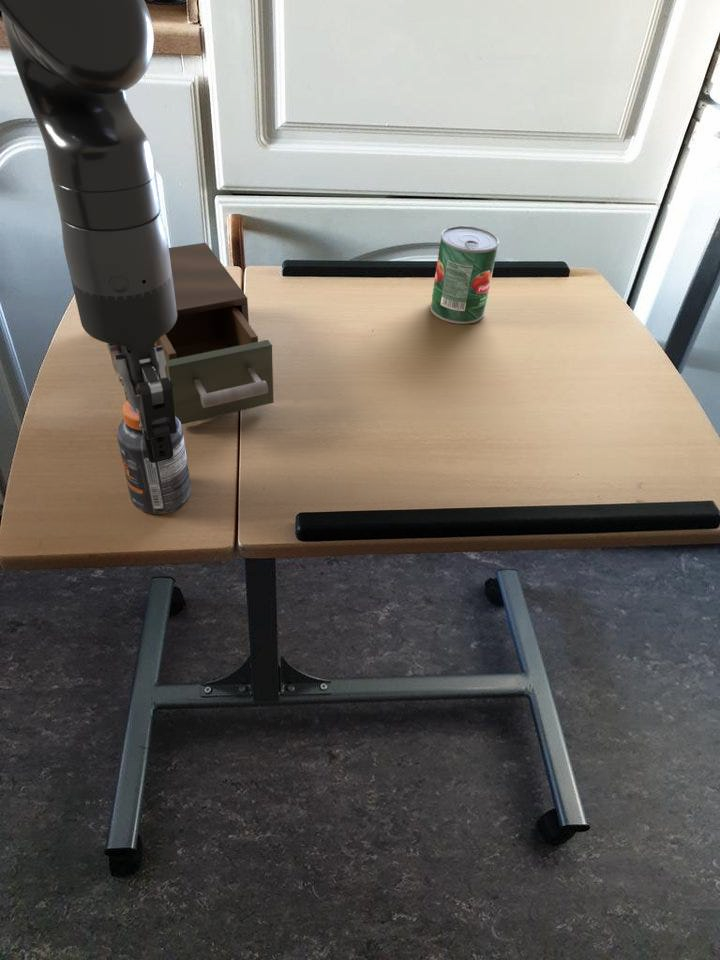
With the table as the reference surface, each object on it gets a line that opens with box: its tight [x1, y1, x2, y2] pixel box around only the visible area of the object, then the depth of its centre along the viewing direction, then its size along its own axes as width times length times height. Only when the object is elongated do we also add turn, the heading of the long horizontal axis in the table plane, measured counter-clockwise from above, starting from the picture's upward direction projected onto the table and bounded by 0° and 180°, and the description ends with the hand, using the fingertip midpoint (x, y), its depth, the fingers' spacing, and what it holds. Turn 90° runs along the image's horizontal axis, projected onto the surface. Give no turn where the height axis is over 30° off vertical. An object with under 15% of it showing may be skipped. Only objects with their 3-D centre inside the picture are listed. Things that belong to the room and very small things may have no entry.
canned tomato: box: [429, 225, 500, 325], centre depth 99 cm, size 8×8×11 cm
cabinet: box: [169, 242, 250, 325], centre depth 88 cm, size 16×13×10 cm
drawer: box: [157, 306, 274, 426], centre depth 80 cm, size 19×11×8 cm, turn 27°
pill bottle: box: [116, 395, 192, 515], centre depth 67 cm, size 6×6×11 cm
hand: (151, 436), depth 66 cm, fingers closed on pill bottle, 6 cm apart
